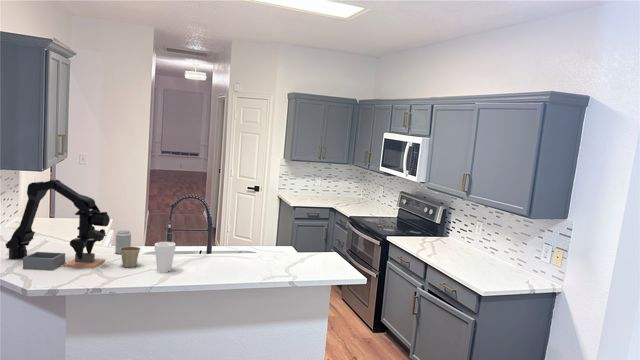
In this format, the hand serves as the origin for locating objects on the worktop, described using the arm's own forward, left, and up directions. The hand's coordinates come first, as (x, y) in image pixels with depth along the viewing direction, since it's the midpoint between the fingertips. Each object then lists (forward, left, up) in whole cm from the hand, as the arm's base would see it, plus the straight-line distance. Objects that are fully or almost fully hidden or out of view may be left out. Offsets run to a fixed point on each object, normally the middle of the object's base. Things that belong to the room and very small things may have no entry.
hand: (84, 256), depth 216 cm
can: (+8, +27, -4) cm, 29 cm away
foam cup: (+38, -2, -4) cm, 38 cm away
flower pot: (+20, +3, -4) cm, 21 cm away
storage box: (-15, -7, -4) cm, 17 cm away
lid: (0, 0, -4) cm, 4 cm away
